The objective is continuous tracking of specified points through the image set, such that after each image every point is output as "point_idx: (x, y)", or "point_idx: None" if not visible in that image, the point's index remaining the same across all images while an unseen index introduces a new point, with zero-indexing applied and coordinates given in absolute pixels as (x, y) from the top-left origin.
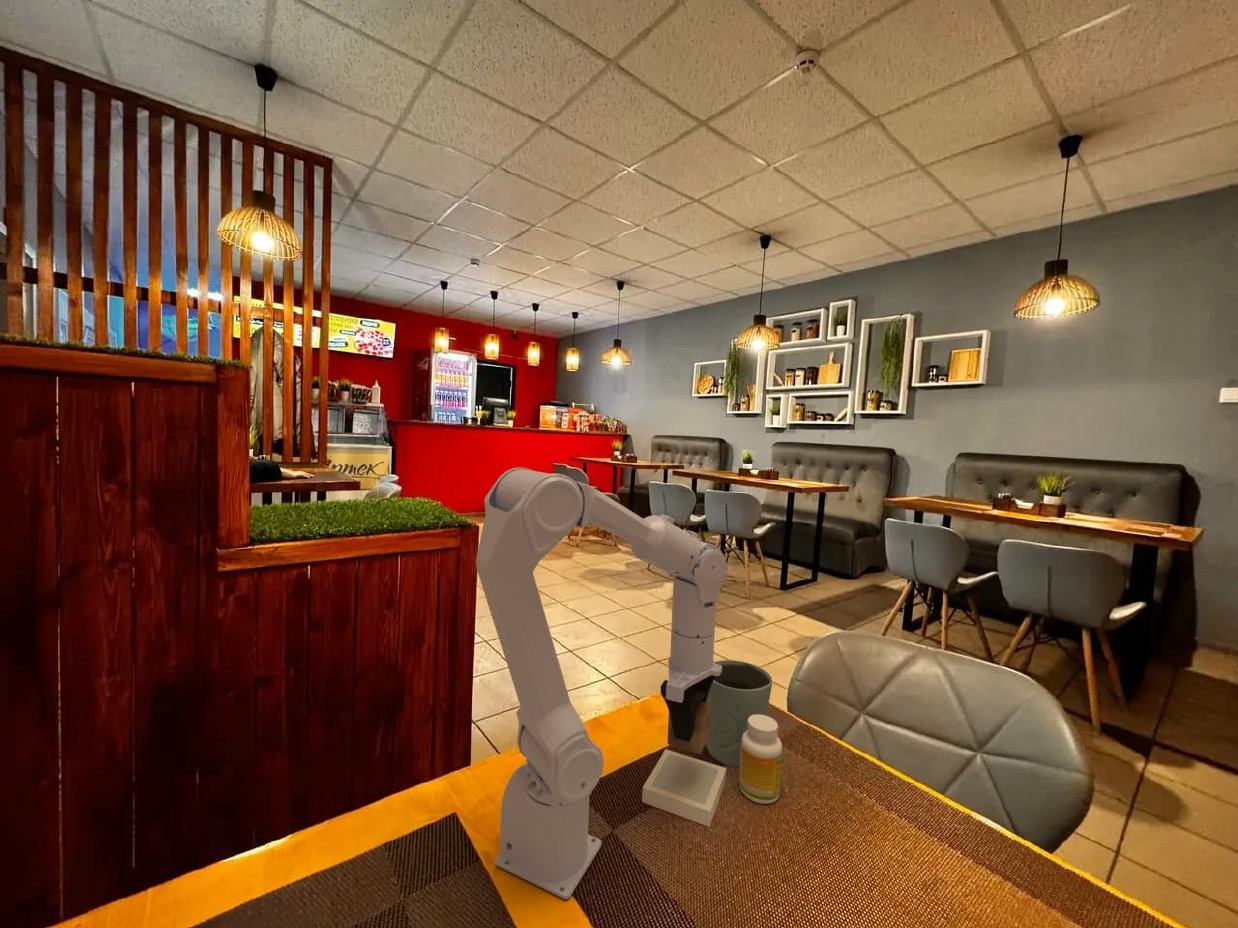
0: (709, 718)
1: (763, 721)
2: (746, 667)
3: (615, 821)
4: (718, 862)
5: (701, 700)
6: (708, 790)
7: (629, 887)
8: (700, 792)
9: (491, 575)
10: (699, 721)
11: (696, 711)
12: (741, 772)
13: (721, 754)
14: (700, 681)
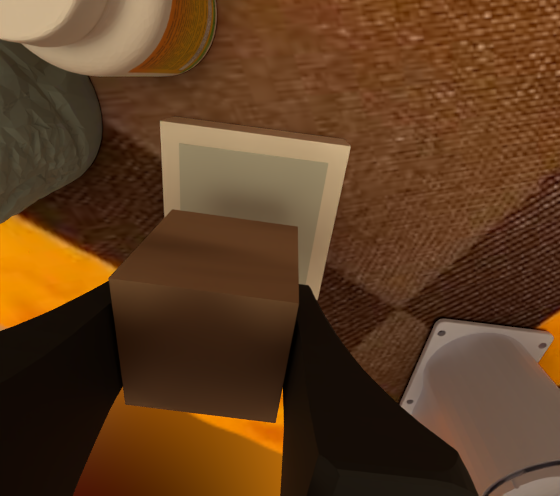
0: (158, 246)
1: None
2: None
3: (377, 310)
4: (444, 105)
5: (458, 474)
6: (276, 160)
7: (519, 258)
8: (291, 179)
9: None
10: (294, 308)
11: (368, 385)
12: (174, 69)
13: (90, 141)
14: (36, 430)
